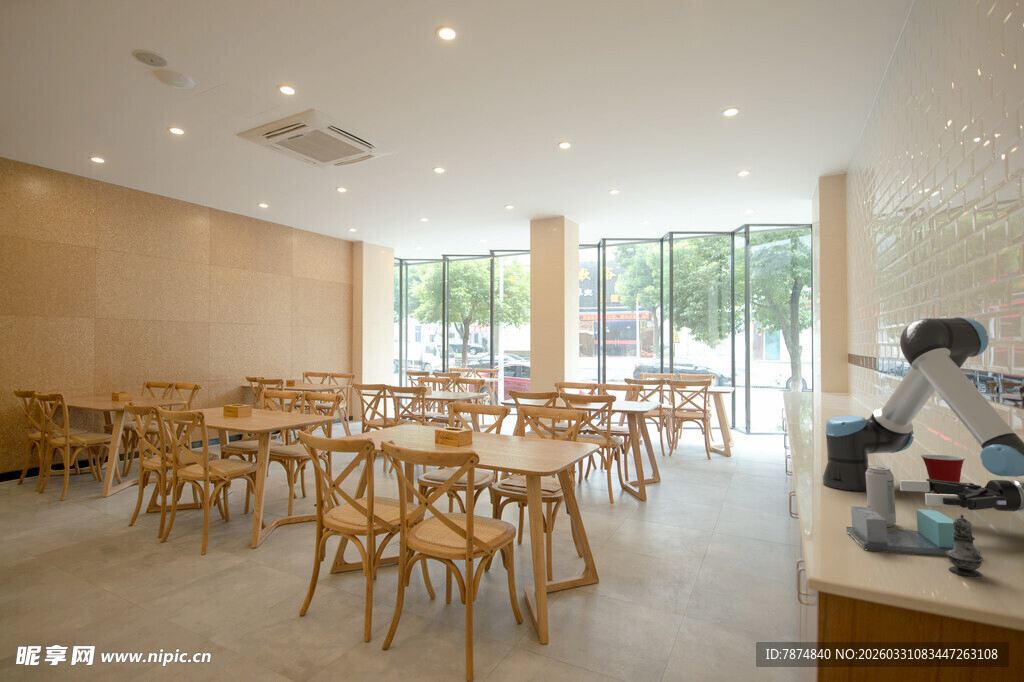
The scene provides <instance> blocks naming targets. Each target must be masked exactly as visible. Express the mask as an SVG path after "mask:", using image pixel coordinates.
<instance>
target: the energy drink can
mask: <svg viewBox="0 0 1024 682" xmlns="http://www.w3.org/2000/svg"><path fill="white" fill-rule="evenodd" d="M894 481H895V480H894V474H893V472H892V471H891V468H890V467H889V466H884V465H869V466H868V469H867V471H866V490H867V491H866V505H867V506H866V507H870V508H871V509H872V510H874V511H875V512H876V513H878V514H879V515H880V516H882V517H883V518H884V519H886V524H887V528H891V527H894V526H895V524H897V514H896V513H897V512H896V503H895V502H896V498H895V496H896V495H895V484H894V483H895V482H894Z"/></svg>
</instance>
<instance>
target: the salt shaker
mask: <svg viewBox="0 0 1024 682" xmlns="http://www.w3.org/2000/svg"><path fill="white" fill-rule="evenodd" d="M964 517H965V516H964V515H963V514H962V513H961V514H960V515H959V518H955V519H953V520H954V521H953V526H954V534H952V536H953V537H954V548H953V550H948V551H946V554H947V555H948V556H947V558H948V560H949V562H950V563H951V564H952V565H954V566H950V567H949V568H948V571H949V572H950V573H952V574H954V575H956V576H960V577H963V578H968V579H983V577H984V575H983V573H981V572H980V571H978V569H979V568H980V567H981V566H982V564H983V562H984V560H985V559H984V557H983V556H982V555H981V554H980V555H978V554H976V553H975V551H974V548H975V547H974V541H975V540H976V538H975V537H974V536H973V526H972V523H971V521H970V520H968V519H966V518H964Z"/></svg>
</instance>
